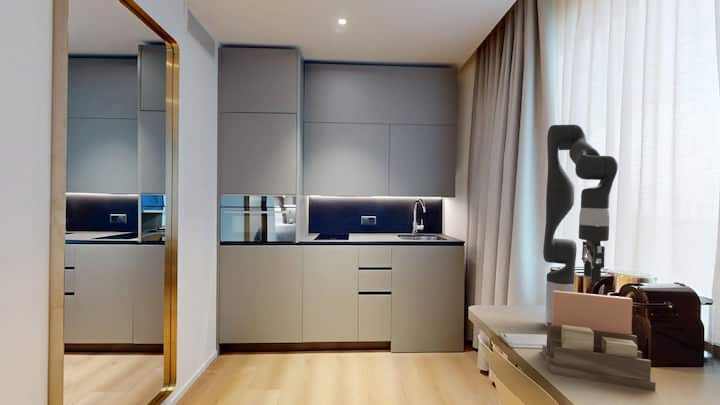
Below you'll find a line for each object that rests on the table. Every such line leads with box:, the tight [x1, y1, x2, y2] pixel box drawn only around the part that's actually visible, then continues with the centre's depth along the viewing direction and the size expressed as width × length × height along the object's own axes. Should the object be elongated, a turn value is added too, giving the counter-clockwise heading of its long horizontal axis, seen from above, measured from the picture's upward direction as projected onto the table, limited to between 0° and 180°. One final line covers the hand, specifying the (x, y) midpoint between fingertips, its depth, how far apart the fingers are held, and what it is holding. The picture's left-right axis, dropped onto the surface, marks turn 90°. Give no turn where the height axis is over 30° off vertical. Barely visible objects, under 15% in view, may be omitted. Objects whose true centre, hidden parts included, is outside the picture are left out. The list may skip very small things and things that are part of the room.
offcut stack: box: [561, 325, 638, 358], centre depth 103 cm, size 4×17×10 cm, turn 71°
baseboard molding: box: [498, 332, 547, 350], centre depth 125 cm, size 31×3×12 cm
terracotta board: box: [552, 290, 634, 335], centre depth 111 cm, size 2×20×18 cm, turn 71°
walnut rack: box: [541, 321, 657, 391], centre depth 107 cm, size 16×24×10 cm, turn 71°
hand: (591, 279), depth 111 cm, fingers open, 8 cm apart
